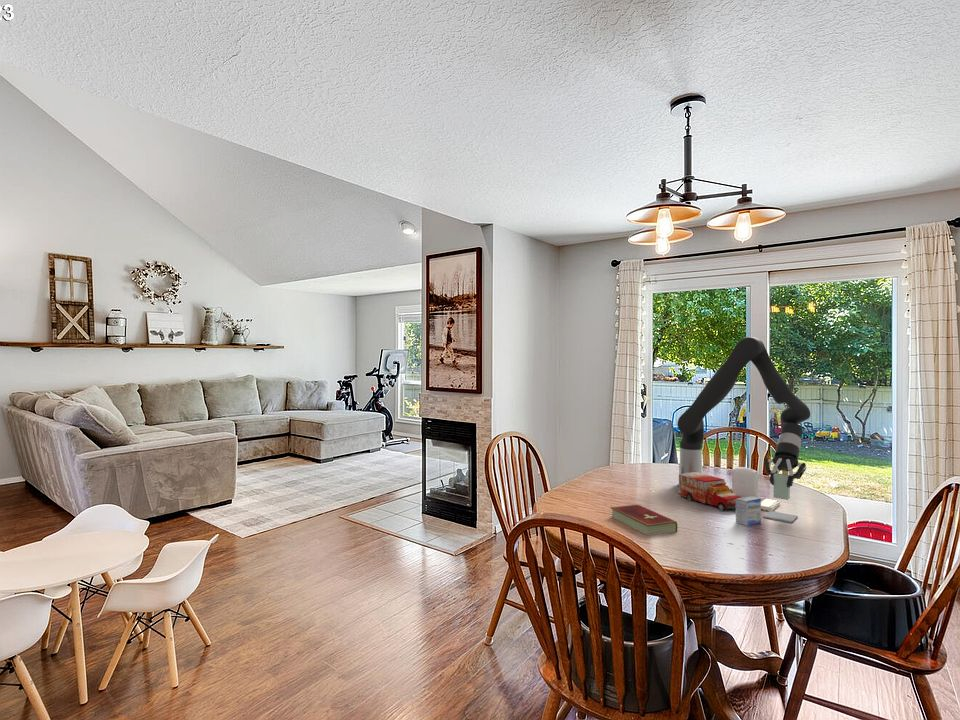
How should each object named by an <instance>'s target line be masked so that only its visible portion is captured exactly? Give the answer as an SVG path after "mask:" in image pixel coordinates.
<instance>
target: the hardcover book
mask: <svg viewBox="0 0 960 720" xmlns="http://www.w3.org/2000/svg"><path fill="white" fill-rule="evenodd" d="M610 509H611V510H612V511H611V512H612V513H611V518H613V519H615V520H617V521H620V522H621V523H623V524H625V525H627V526H629V527H631V528H632V529H635V530H636V531H639V532H641V533H643V534H644V535H647V536H652V535H654V536H655V535H660V534H667V533H669V534H670V533H677V532H678V522H677V521H676V520H675V519H672V518H670V517H667V516H665V515H663V514H661V513H658V512H656V511H654V510H651V509H649V508H647V507H645V506H643V505H641V504H638V503H637V504H628V505H619V506H610Z"/></svg>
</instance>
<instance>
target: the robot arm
mask: <svg viewBox="0 0 960 720" xmlns="http://www.w3.org/2000/svg"><path fill="white" fill-rule="evenodd" d="M750 362H752V364H753V366H754V367H756V369H757V371H758V373H759V374H760V376H761V378H762V382H763V384H764V386H765V388H766V390H767V392H768V393H769V394H770V395H771V397H772V398H773V400H774V402H775V403H776V404H777V405H781V404H786V405H787V406H788V407H787V408H785V409H784V410H783V411H782V412H781V413H780V417H779V418H780V419H779V420H780V425H781V427H780V428H781V430H780V434H779V438H778V439H777V445H776V448H775V453H774V456H773V457H772V458H770V459H768V458H767V457H765V458H764V459H763V461H764V466H765V472H766V475H768V476H769V483H770V484H771V485H772V486H774V474H775V473H778V474H780V472H781V471H783V472H788V475H789V476H788V480H787V487H788V488H790V489H791V487H792V486H793V484H794V480H795V479H797V480H800V479H801V478H802V477H803V475H804V473H805V472H806V470H807V464H806V462H799V456H800V451H801V447H802V444H801V443H802V438H803V432H804V431H803V427H802V426H801V425H800V424H801V423H803V422H805V421H808V419H810V417H811V410H810V408H809V407H808V405H806V403H805V402H803V401H802V400H801V399H800V398H799V397H798V396H797V395H796V394H794V393H793V392H792V390H791V389H790V387H789V385H788V384H787V383H786V381H785V380H784V378H783V376H781V374H780V373H779V371H778V369H777V368H776V366H775V365H774V363H773V361H772V360H771V358H770V355H769V353H768V350H767V348H766V347H765V343H764V342H763V341H762V340H761V339H760V338H758V337H753V336H745V337H743V338H741V339H739V341H738V342H737V343H736V344H735V346H734V347H733V349H732V351H731V352H730V354H729V355H728V358H726V360H725V361H724V363H722V365H720V367H719V368H718V370H717V371H716V372H715V374H713V375H712V377H711V378H710V379H709V381H708V382H707V383H706V384H705V386H704V387H703V389H702V390H701V391H700V393H699V394H698V396H697V397H696V399H695V400H694V401H693V403H692V404H691V405H690V406H689V407H688V408H687V409H686V410H685V411H684V412H682V414H681V415H680V416H679V418H678V419H677V422H676V423H677V424H676V425H677V428H678V431H679V432H681V433H682V438H681V440H680V442H679V464H678V475H679V474H683V473H691V472H699V473H702V474H703V463H702V462H703V443H704V431H705V424H704V418H705V417H706V415H707V414H708V413H710V412H711V410H713V409H714V408H716V407H717V406H718V405H719V404H720V403H721V402H722V401H724V399H725V398H726V397H727V396H728V394H729V393H730V392H731V391H732V389H733V388H734V386H735V384H736V383H737V380H738V378H739V376H740V374H741V372H742V370H743V369H744V368H745V367H746V366H747V364H748V363H750ZM772 463H773V467H772V469H771V465H772ZM797 467H798V468H797ZM795 468H797V470H796V471H795V472H793V470H794V469H795Z"/></svg>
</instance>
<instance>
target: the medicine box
mask: <svg viewBox="0 0 960 720" xmlns="http://www.w3.org/2000/svg"><path fill="white" fill-rule="evenodd" d="M761 502H762V499H761V498H760V497H759V498H757V497H752V496H748V497H742V498H738V499H736V509H735V523H736V524H740V525H743V526H745V527H746V526H747V527H748V526H749V525H750V526H753V525H757V524H760V523H762V510H761Z"/></svg>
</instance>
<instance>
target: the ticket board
mask: <svg viewBox="0 0 960 720" xmlns="http://www.w3.org/2000/svg"><path fill="white" fill-rule="evenodd" d="M779 506H781V501H780V500H776V499H770V498H765V499H763V500H761V509H763V510H762V511H766V510H768V512H769V511H774V510H775V508H776V509H777V508H778V507H779Z"/></svg>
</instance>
